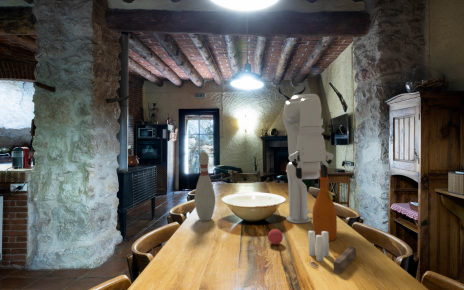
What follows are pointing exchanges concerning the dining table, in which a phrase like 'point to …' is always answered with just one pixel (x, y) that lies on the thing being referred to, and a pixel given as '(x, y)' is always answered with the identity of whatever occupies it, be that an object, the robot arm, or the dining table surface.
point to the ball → (275, 236)
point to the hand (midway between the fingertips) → (311, 177)
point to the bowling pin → (204, 191)
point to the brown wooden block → (344, 259)
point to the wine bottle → (324, 212)
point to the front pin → (311, 243)
